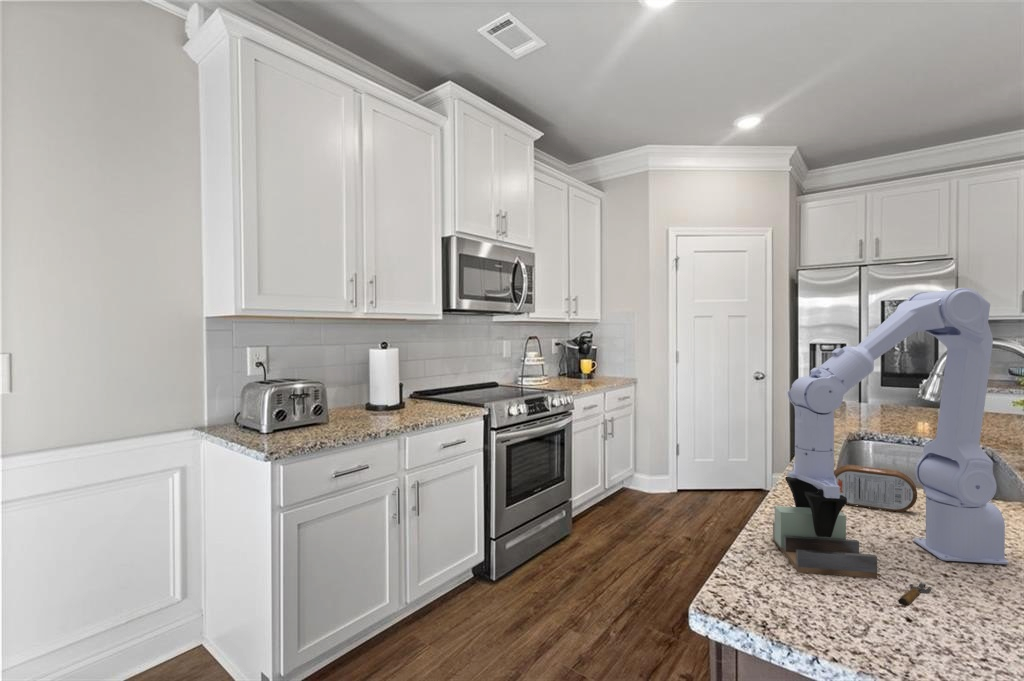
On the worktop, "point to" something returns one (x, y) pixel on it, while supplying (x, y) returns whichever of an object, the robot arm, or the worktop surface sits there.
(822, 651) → the worktop surface
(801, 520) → the tall sage green block
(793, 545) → the rack
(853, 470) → the tin
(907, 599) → the can opener
